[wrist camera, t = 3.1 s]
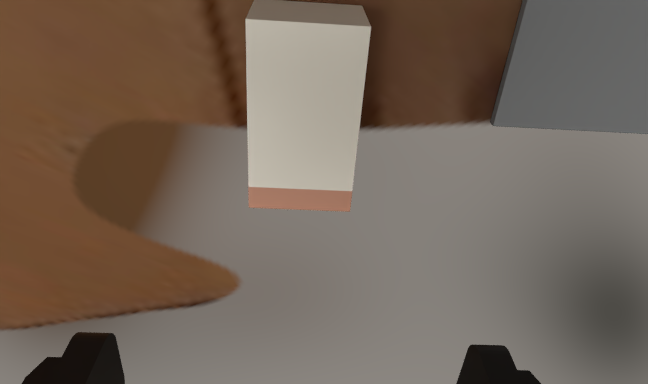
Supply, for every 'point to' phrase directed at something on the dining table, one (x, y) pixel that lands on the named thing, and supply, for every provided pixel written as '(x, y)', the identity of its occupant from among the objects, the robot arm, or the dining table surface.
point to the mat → (577, 67)
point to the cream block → (304, 102)
